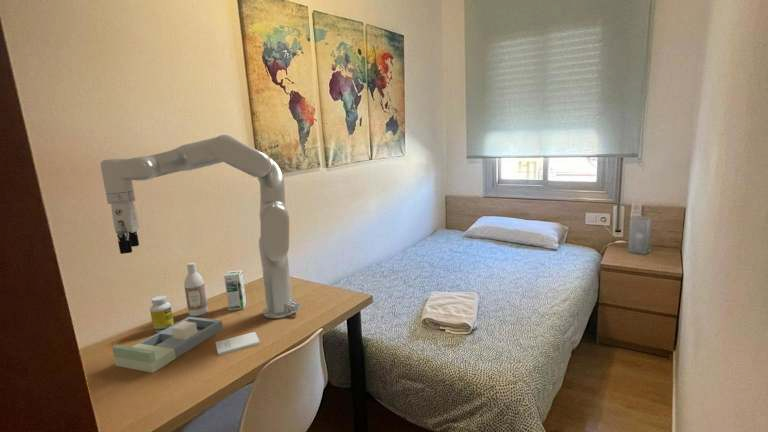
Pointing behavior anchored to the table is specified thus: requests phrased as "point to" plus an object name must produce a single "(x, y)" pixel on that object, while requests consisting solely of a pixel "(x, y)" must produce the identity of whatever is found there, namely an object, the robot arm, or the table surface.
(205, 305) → the bath foam
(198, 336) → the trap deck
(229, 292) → the syrup box
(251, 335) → the external hard drive
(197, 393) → the table surface
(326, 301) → the table surface
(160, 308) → the pill bottle
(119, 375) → the table surface
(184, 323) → the block
